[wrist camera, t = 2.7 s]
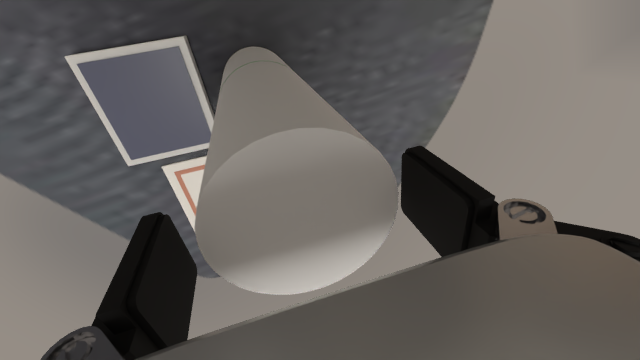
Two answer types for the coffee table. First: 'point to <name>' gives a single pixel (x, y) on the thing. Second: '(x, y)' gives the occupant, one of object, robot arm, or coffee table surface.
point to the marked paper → (187, 183)
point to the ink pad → (148, 97)
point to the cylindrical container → (288, 184)
